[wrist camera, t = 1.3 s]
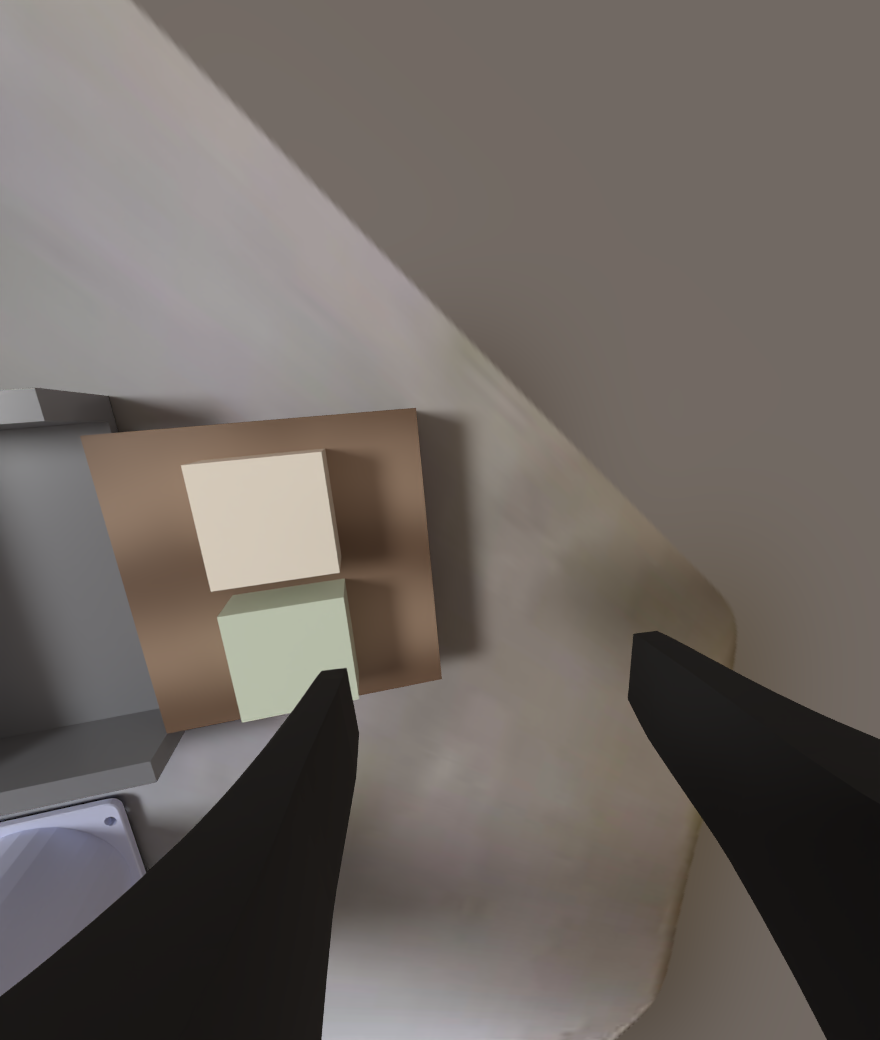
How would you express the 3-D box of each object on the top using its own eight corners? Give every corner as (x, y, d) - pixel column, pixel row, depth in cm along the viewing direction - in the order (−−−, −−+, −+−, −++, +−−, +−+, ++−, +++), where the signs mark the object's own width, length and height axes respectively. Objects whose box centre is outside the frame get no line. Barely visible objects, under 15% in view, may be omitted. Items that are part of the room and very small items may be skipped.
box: (194, 714, 20) (156, 782, 16) (-21, 756, 19) (-118, 841, 15) (108, 395, 17) (34, 387, 13) (-168, 415, 15) (-347, 411, 11)
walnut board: (432, 651, 22) (441, 678, 20) (189, 696, 20) (166, 733, 18) (408, 409, 19) (415, 407, 17) (118, 433, 17) (79, 435, 15)
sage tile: (358, 671, 19) (359, 699, 17) (254, 690, 18) (241, 722, 16) (344, 578, 18) (343, 597, 16) (232, 595, 17) (216, 617, 15)
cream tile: (341, 556, 17) (339, 572, 15) (227, 572, 17) (210, 591, 15) (325, 448, 16) (321, 451, 14) (202, 460, 15) (180, 465, 14)
